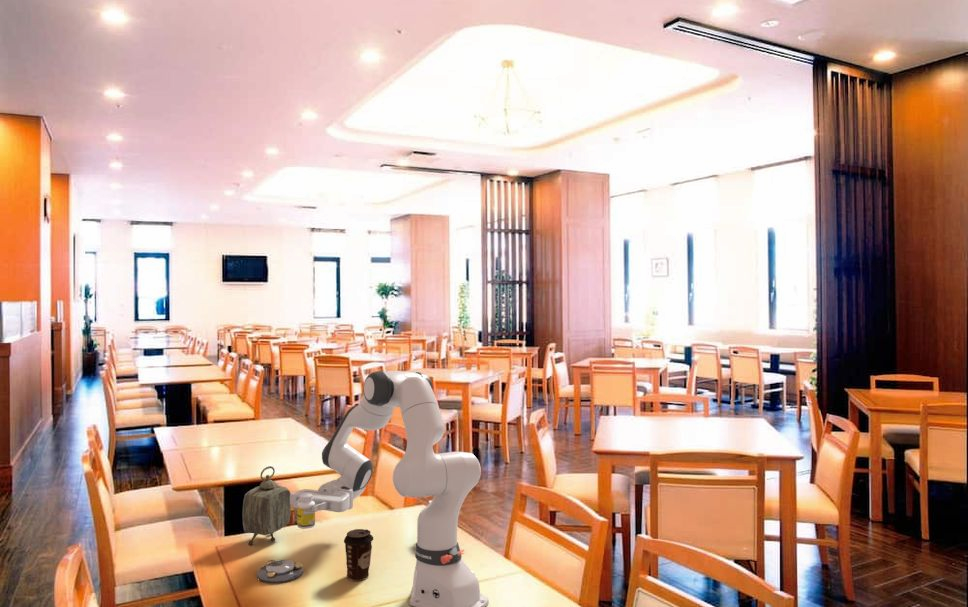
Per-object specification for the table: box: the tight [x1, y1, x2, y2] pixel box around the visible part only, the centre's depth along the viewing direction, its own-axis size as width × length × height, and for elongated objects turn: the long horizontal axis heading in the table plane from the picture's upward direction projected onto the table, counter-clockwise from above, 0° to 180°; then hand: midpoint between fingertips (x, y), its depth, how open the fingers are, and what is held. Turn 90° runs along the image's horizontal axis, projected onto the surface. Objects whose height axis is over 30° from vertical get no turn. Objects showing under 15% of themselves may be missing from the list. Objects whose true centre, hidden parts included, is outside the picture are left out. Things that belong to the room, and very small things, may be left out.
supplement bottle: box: [296, 493, 316, 530], centre depth 206 cm, size 5×5×10 cm
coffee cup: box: [343, 528, 374, 582], centre depth 195 cm, size 9×8×13 cm
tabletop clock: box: [241, 466, 292, 546], centre depth 222 cm, size 14×9×25 cm, turn 160°
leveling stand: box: [256, 559, 304, 584], centre depth 196 cm, size 13×13×3 cm
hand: (304, 507), depth 206 cm, fingers closed on supplement bottle, 5 cm apart
